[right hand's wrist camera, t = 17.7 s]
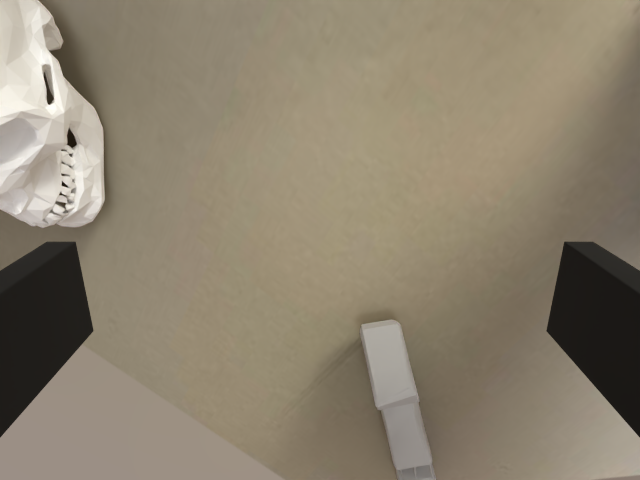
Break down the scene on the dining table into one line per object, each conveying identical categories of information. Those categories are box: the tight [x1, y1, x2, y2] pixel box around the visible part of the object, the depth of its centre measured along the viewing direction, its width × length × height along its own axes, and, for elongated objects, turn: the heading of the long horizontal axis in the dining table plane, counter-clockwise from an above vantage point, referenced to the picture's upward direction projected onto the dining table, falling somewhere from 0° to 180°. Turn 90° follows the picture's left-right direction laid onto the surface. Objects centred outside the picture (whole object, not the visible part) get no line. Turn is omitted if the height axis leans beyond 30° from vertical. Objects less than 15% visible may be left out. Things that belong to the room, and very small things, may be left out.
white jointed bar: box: [359, 319, 437, 480], centre depth 41 cm, size 20×4×7 cm, turn 15°
